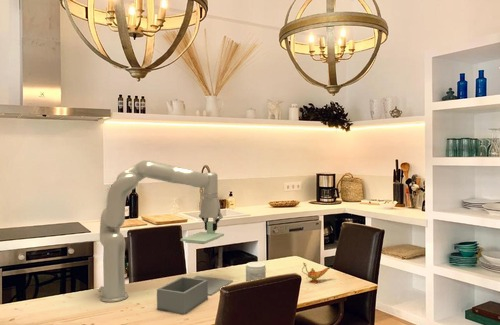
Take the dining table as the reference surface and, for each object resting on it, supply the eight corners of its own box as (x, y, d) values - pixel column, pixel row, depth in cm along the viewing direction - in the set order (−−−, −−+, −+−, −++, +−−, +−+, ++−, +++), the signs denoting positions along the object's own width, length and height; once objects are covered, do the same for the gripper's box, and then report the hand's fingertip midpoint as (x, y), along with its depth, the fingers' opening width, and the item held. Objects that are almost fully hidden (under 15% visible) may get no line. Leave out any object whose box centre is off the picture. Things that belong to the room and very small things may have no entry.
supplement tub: (245, 291, 206) (244, 261, 206) (264, 290, 207) (264, 261, 206) (246, 298, 196) (246, 267, 196) (267, 297, 197) (266, 266, 197)
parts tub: (157, 309, 182) (156, 289, 182) (182, 295, 201) (182, 276, 200) (184, 314, 177) (184, 293, 176) (207, 299, 195) (207, 280, 195)
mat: (172, 289, 209) (172, 288, 209) (197, 276, 231) (197, 275, 231) (211, 295, 200) (211, 294, 200) (233, 281, 222) (233, 280, 222)
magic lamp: (334, 281, 221) (334, 260, 221) (305, 285, 215) (305, 264, 214) (327, 277, 228) (327, 257, 227) (298, 281, 221) (298, 260, 221)
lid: (180, 242, 208) (180, 226, 208) (201, 235, 226) (200, 220, 226) (205, 245, 203) (204, 228, 202) (224, 237, 221) (223, 222, 221)
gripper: (193, 196, 222) (193, 230, 222) (221, 197, 215) (221, 232, 215) (200, 194, 229) (200, 228, 229) (227, 195, 222) (228, 230, 222)
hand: (210, 229), depth 222 cm, fingers closed on lid, 4 cm apart
